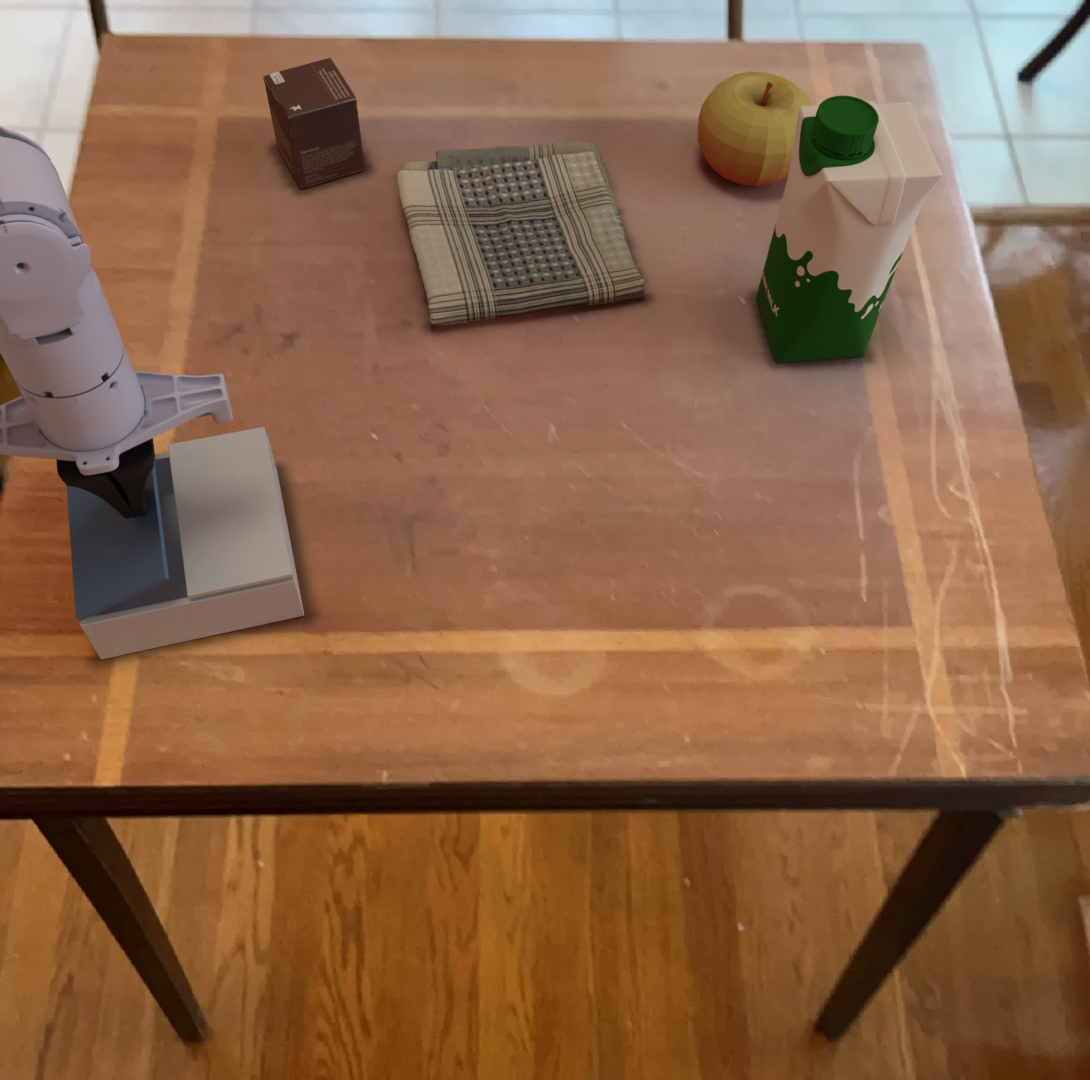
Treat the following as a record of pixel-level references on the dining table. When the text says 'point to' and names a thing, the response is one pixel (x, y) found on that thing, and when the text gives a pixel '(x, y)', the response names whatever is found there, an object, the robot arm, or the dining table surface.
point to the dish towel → (516, 231)
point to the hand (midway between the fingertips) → (134, 503)
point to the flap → (114, 550)
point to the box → (315, 122)
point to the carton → (210, 549)
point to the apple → (751, 127)
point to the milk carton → (842, 225)
